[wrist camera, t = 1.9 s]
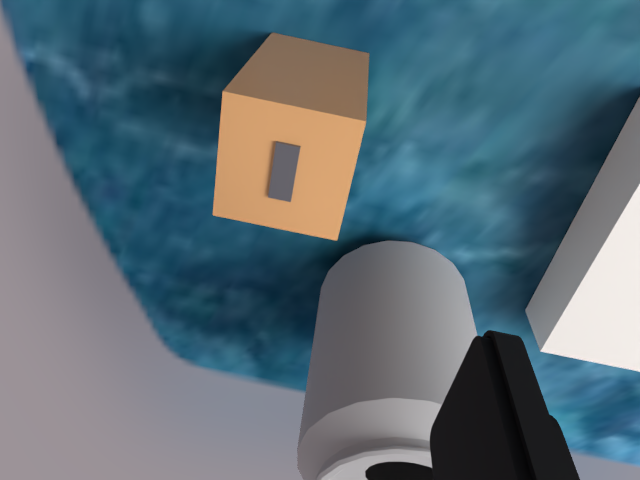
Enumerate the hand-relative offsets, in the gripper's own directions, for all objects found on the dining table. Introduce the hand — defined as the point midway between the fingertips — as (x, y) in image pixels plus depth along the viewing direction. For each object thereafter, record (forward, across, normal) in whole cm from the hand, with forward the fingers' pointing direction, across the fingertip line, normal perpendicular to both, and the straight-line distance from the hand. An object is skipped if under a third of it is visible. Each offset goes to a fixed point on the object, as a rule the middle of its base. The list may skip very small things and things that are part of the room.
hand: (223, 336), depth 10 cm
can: (+15, -6, +9) cm, 18 cm away
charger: (+15, 0, -1) cm, 15 cm away
